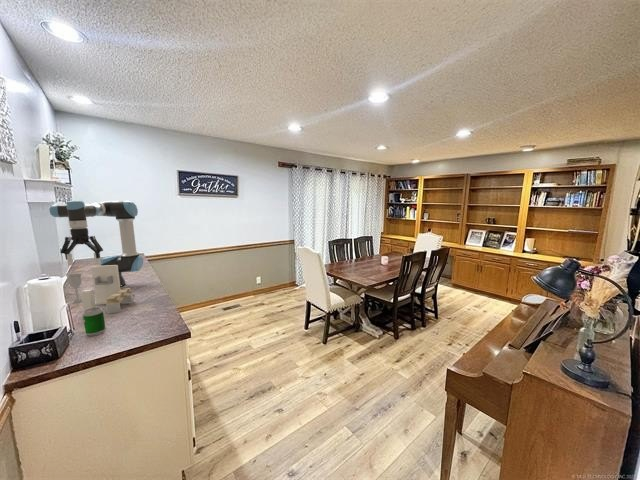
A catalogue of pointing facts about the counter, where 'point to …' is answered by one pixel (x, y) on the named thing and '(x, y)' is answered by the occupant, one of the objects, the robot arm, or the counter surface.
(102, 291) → the white shelf
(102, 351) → the counter surface
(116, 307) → the stand
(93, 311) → the soda can
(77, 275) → the chalice
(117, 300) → the rail
